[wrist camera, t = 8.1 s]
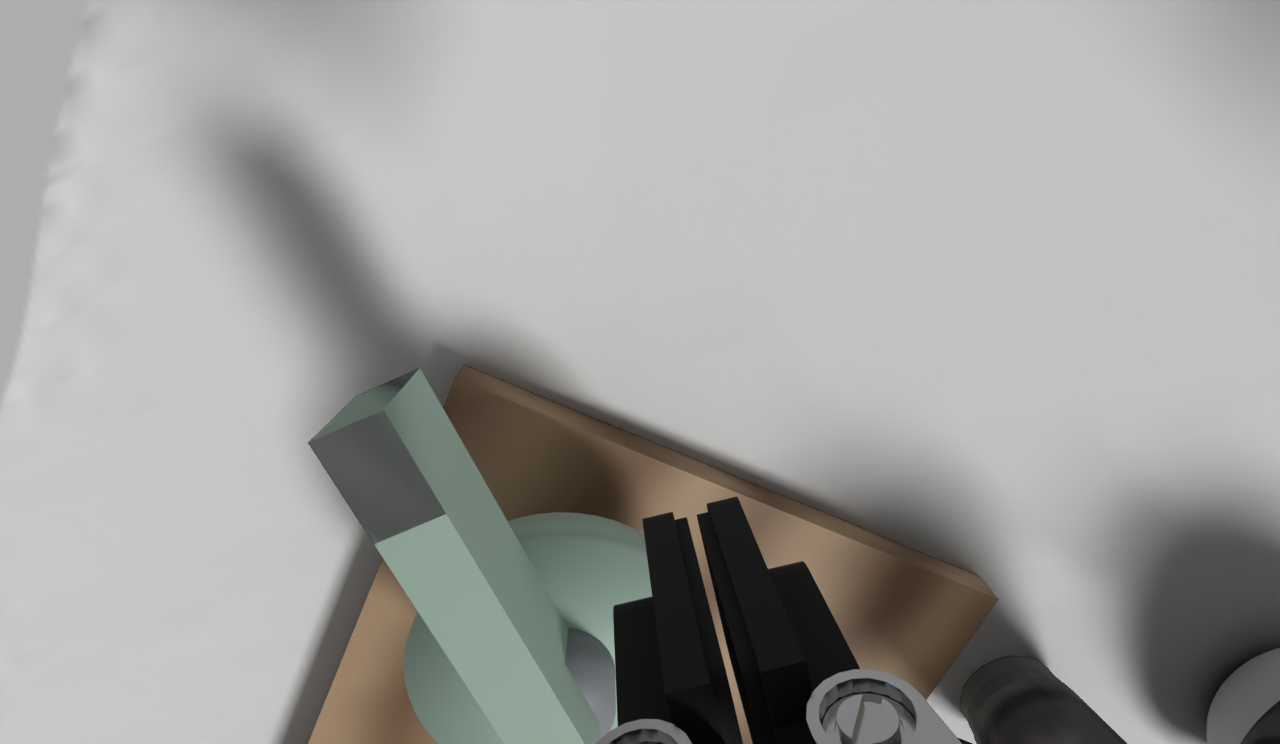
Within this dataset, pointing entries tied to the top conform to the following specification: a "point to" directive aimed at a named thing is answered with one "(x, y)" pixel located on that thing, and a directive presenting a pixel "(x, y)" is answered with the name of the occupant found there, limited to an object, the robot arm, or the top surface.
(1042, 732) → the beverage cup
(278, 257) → the top surface
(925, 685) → the walnut board
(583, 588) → the green door lever handle
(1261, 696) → the dark grey rounded block
